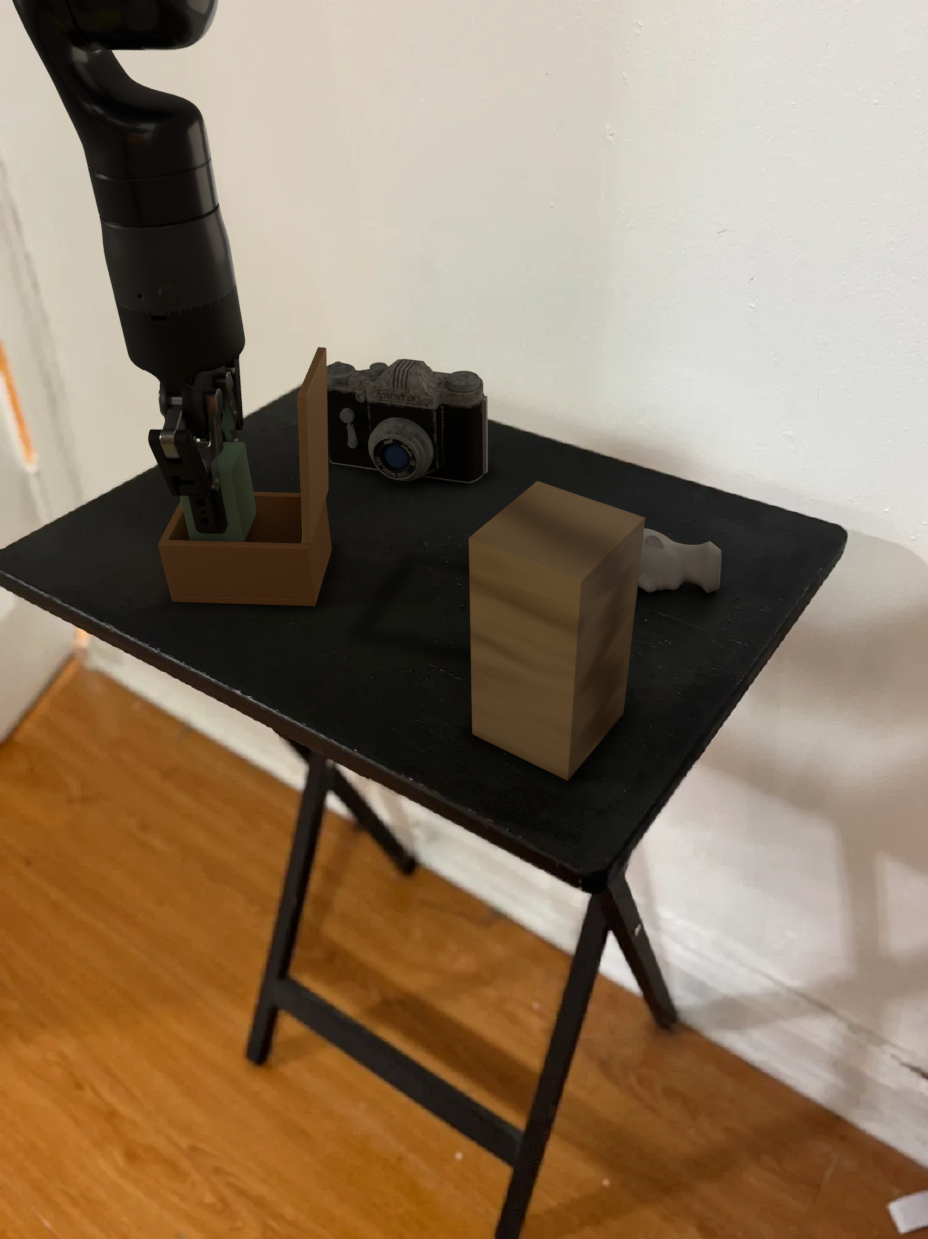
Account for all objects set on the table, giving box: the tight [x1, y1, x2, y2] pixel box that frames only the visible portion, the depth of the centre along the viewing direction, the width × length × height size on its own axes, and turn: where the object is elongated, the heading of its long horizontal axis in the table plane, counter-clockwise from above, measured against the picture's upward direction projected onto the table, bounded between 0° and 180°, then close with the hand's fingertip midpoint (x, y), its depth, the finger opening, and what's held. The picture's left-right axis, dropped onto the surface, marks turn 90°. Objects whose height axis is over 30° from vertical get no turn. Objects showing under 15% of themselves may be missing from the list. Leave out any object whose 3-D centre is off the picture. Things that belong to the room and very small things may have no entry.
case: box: [157, 491, 333, 607], centre depth 77 cm, size 11×7×5 cm
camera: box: [327, 358, 489, 484], centre depth 86 cm, size 15×7×10 cm, turn 73°
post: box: [468, 480, 646, 782], centre depth 61 cm, size 7×7×15 cm
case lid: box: [296, 346, 329, 544], centre depth 71 cm, size 11×7×1 cm
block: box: [179, 440, 257, 542], centre depth 74 cm, size 4×4×6 cm
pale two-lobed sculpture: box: [637, 527, 723, 594], centre depth 75 cm, size 4×8×5 cm
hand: (220, 512), depth 75 cm, fingers closed on block, 4 cm apart
